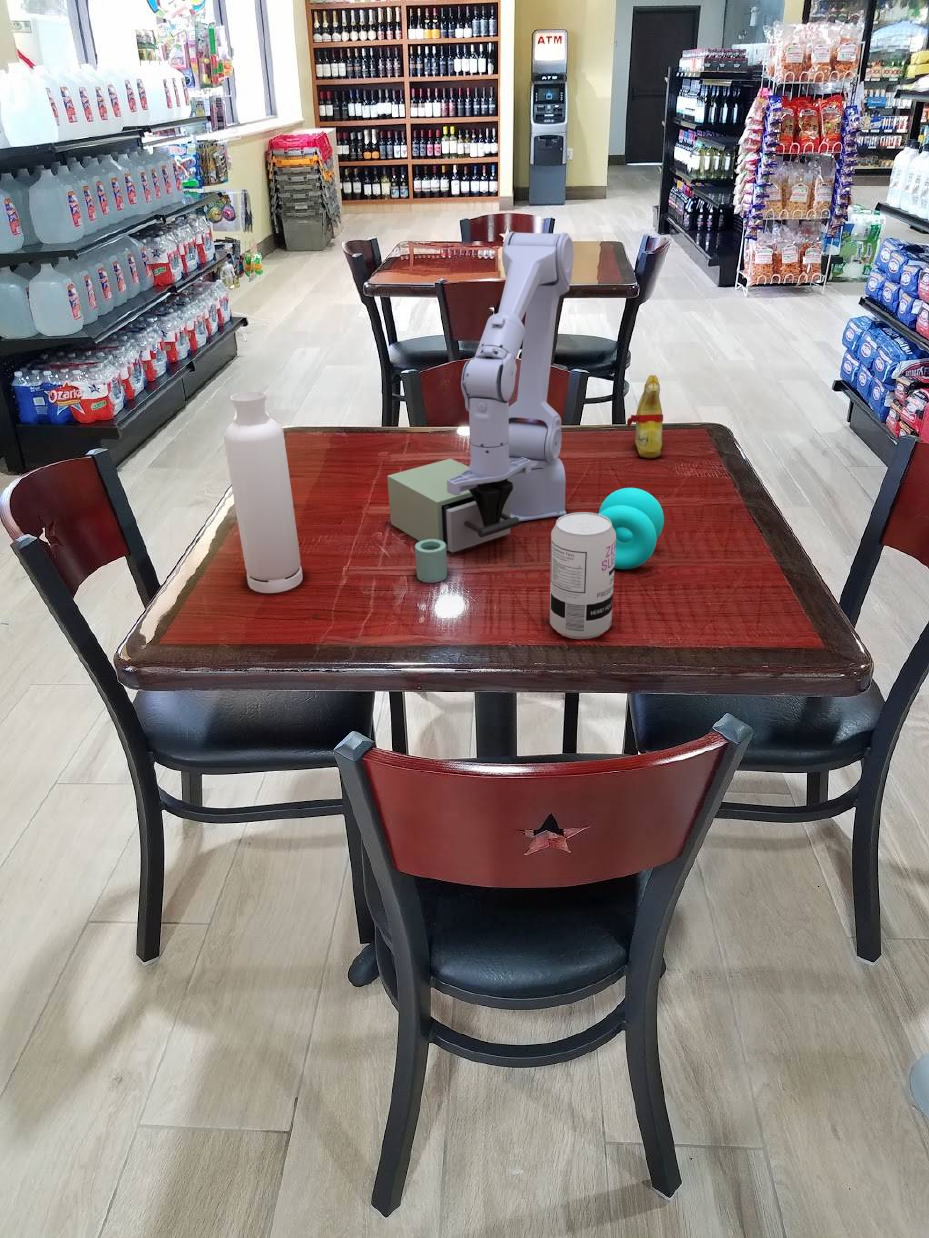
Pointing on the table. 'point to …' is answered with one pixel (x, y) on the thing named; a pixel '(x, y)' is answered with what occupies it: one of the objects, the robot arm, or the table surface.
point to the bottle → (262, 495)
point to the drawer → (472, 524)
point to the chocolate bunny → (649, 420)
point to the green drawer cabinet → (423, 498)
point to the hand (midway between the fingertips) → (490, 526)
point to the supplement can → (582, 575)
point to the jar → (431, 560)
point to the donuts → (633, 525)
